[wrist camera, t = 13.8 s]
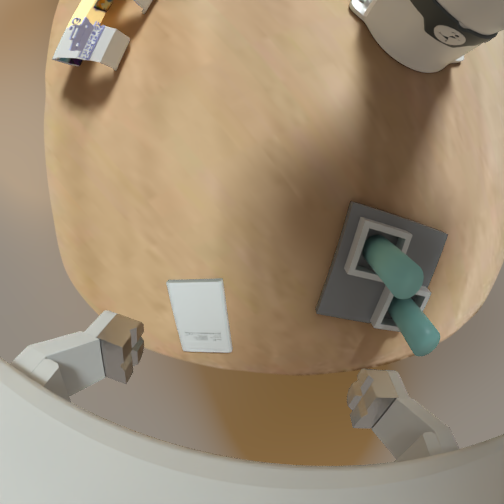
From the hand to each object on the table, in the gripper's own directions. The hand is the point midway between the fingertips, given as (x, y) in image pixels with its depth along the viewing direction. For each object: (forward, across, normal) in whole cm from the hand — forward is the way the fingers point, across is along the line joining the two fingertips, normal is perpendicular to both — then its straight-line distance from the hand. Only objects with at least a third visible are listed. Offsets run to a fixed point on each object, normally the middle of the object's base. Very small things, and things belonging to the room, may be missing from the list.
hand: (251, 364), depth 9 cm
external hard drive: (+28, +6, +18) cm, 33 cm away
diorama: (+28, +27, -29) cm, 48 cm away
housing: (+27, -18, +4) cm, 33 cm away
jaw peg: (+26, -15, +1) cm, 30 cm away
